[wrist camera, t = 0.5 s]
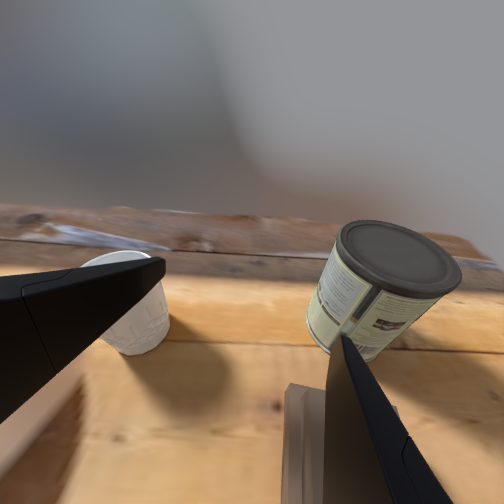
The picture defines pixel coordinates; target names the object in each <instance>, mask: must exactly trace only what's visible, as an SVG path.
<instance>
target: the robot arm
mask: <svg viewBox="0 0 504 504" xmlns="http://www.w3.org/2000/svg"><path fill="white" fill-rule="evenodd" d="M165 273H166V261H165V259H163V258H161V257H151V258H143V259H136V260H129V261H122V262H115V263H108V264H101V265H94V266H87V267H79V268H75V269H74V268H72V269H65V270H57V271H50V272H41V273H31V274H21V275H11V276H1V277H0V424H1V423H2V422H3V421H4V420H6V419H7V418H8V417H9V416H10V415H11V414H13V413H14V412H15V411H16V410H17V409H18V408H19V407H20V406H21V405H23V404H24V403H25V402H26V401H27V400H28V399H30V398H31V397H32V396H33V395H34V394H35V393H36V392H38V391H39V390H40V389H41V388H42V387H43V386H44V385H45V384H46V383H48V382H49V381H50V380H51V379H52V378H53V377H55V376H56V374H57V373H59V372H60V371H61V370H62V369H63V368H64V367H66V366H67V365H68V364H69V363H70V362H71V361H72V360H74V359H75V358H76V357H77V356H78V355H79V354H80V353H82V352H83V351H84V350H85V349H86V348H87V347H88V346H90V345H91V344H92V343H93V342H94V341H95V340H96V339H98V338H99V337H100V336H101V335H102V334H103V333H104V332H105V331H107V330H108V329H109V328H110V327H111V326H112V325H113V324H115V323H116V322H117V321H118V320H119V319H120V318H121V317H123V316H124V315H125V314H126V313H127V312H128V311H129V310H130V309H132V308H133V307H134V306H135V305H136V304H137V303H138V302H140V301H141V300H142V299H143V298H144V297H145V296H146V295H147V294H148V293H149V292H150V291H151V290H152V289H153V287H154V286H155V285H156V284H157V283H158V282H159V281H160V280H161V279H162V278H163V277H164V275H165ZM408 435H409V433H408V432H407V430H406V428H405V427H404V425H403V423H402V422H401V420H400V418H399V417H398V415H397V413H396V412H395V410H394V409H393V407H392V405H391V404H390V402H389V400H388V399H387V397H386V395H385V394H384V392H383V390H382V389H381V387H380V386H379V384H378V382H377V381H376V379H375V377H374V376H373V374H372V372H371V371H370V369H369V367H368V366H367V364H366V362H365V361H364V359H363V358H362V356H361V354H360V353H359V351H358V349H357V348H356V346H355V344H354V343H353V341H352V340H351V338H349V337H347V336H345V335H342V334H341V335H339V336H338V338H337V339H336V341H335V343H334V344H333V346H332V348H331V353H330V360H329V367H328V374H327V380H326V391H325V426H324V464H323V502H322V504H453V502H452V501H451V499H450V498H449V496H448V495H447V493H446V492H445V490H444V489H443V487H442V486H441V484H440V483H439V481H438V480H437V478H436V477H435V475H434V473H433V472H432V470H431V469H430V467H429V465H428V464H427V462H426V461H425V459H424V458H423V456H422V454H421V453H420V451H419V450H418V448H417V446H416V445H415V443H414V441H413V440H412V438H411V437H410V436H408Z"/></svg>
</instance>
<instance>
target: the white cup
mask: <svg viewBox="0 0 504 504" xmlns="http://www.w3.org/2000/svg"><path fill="white" fill-rule="evenodd" d="M143 258H151V257H150V256H149V255H147V254H145V253H142V252H138V251H118V252H113V253H109V254H106V255H102V256H100V257H97V258H95V259H93V260H91V261H89V262H87V263H86V264H84V265H82V266H81V267H87V266H94V265H101V264H108V263H115V262H122V261H129V260H136V259H143ZM169 328H170V315H169V312H168V306H167V302H166V298H165V294H164V290H163V287H162V283H161V280H160V281H159V282H158V283H157V284H156V285H155V286H154V287H153V289H152V290H151V291H150V292H149V293H148V294H147V295H146V296H145V297H144V298H143V299H142V300H141V301H140V302H138V303H137V304H136V305H135V306H134V307H133V308H132V309H130V310H129V311H128V312H127V313H126V314H125V315H124V316H123V317H121V318H120V319H119V320H118V321H117V322H116V323H115V324H113V325H112V326H111V327H110V328H109V329H108V330H107V331H105V332H104V333H103V334H102V335H101V336H100V337H101V338H102V339H103V340H104V341H105V342H107V343H108V344H110V345H111V346H112V347H113V348H114V349H115V350H117V351H118V352H121V353H123V354H125V355H128V356H130V355H140V354H143V353H145V352H147V351H149V350H151V349H153V348H155V347H156V346H157V345H158V344H159V343H160V342H161V341H162V340H163V339H164V338H165V337H166V335H167V332H168V330H169Z"/></svg>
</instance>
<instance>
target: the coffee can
mask: <svg viewBox="0 0 504 504" xmlns="http://www.w3.org/2000/svg"><path fill="white" fill-rule="evenodd" d="M461 280H462V273H461V270H460V268H459V266H458V264H457V263H456V261H455V260H454V259H453V258H452V256H451V255H450V254H449V253H448V252H447V251H445V250H444V249H443V248H442V247H440V246H439V245H438V244H436V243H435V242H433V241H432V240H430V239H428V238H427V237H425V236H423V235H421V234H419V233H417V232H415V231H412V230H410V229H407V228H405V227H401V226H398V225H395V224H392V223H387V222H382V221H376V220H358V221H352V222H349V223H347V224H345V225H344V226H342V227H341V229H340V230H339V232H338V235H337V238H336V242H335V245H334V247H333V250H332V252H331V254H330V257H329V259H328V261H327V264H326V266H325V269H324V271H323V273H322V276H321V278H320V280H319V283H318V285H317V288H316V290H315V292H314V295H313V297H312V300H311V302H310V304H309V306H308V308H307V310H306V324H307V327H308V330H309V332H310V334H311V336H312V338H313V339H314V340H315V341H316V343H317V344H318V345H319V346H320V347H321V348H322V349H323V350H324V351H325V352H327V353H328V354H330V353H331V348H332V346H333V344H334V343H335V341H336V339H337V338H338V336H339V335H341V334H342V335H345V336H347V337H349V338H351V340H352V341H353V343H354V344H355V346H356V348H357V349H358V351H359V353H360V354H361V356H362V358H363V359H364V361H365V362H369V361H372V360H373V359H374V358H375V357H377V355H378V354H379V353H380V352H381V351H382V350H383V349H384V348H386V347H387V346H388V345H389V344H390V343H391V342H392V341H393V340H394V339H396V338H397V337H398V336H399V335H400V334H401V333H402V332H403V331H405V330H406V329H407V328H408V327H409V326H410V325H411V324H412V323H414V322H415V321H416V320H417V319H419V318H420V317H421V316H422V315H423V314H424V313H425V312H426V311H427V310H428V309H429V308H430V307H432V306H433V305H434V304H435V303H436V302H437V301H438V300H439V299H440V298H442V297H443V296H444V295H446V294H448V293H450V292H451V291H453V290H454V289H455V288H456V287H458V285H459V284H460V283H461Z"/></svg>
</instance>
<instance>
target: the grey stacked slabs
mask: <svg viewBox="0 0 504 504" xmlns="http://www.w3.org/2000/svg"><path fill="white" fill-rule="evenodd" d="M392 407H393V409H394V410H395V412H396V413H397V415H398V417H399V414H398V411H397V407H396V406H392ZM399 418H400V417H399ZM324 426H325V390H321V389H316V388H311V387H307V386H302V385H297V384H293V383H290V384H289V386H288V388H287V389H286V391H285V407H284V433H283V459H282V486H281V504H322V502H323V464H324Z"/></svg>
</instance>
